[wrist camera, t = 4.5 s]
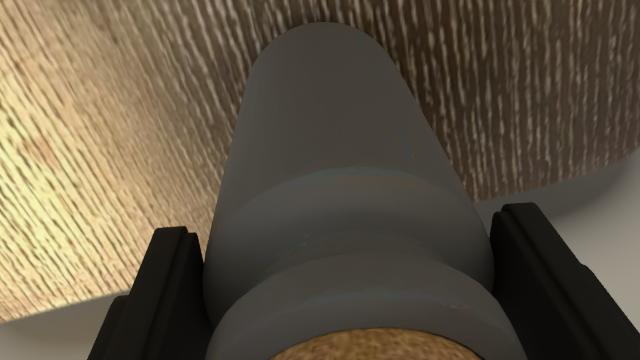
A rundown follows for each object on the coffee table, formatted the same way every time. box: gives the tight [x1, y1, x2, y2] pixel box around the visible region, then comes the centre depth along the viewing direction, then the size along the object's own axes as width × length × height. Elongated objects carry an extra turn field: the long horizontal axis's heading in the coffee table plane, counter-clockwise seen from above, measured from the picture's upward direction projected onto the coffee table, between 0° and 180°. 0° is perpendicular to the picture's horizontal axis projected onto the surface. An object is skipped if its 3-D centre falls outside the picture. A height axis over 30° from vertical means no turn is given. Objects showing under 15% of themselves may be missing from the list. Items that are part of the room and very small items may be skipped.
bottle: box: [202, 22, 528, 360], centre depth 13 cm, size 6×6×15 cm
